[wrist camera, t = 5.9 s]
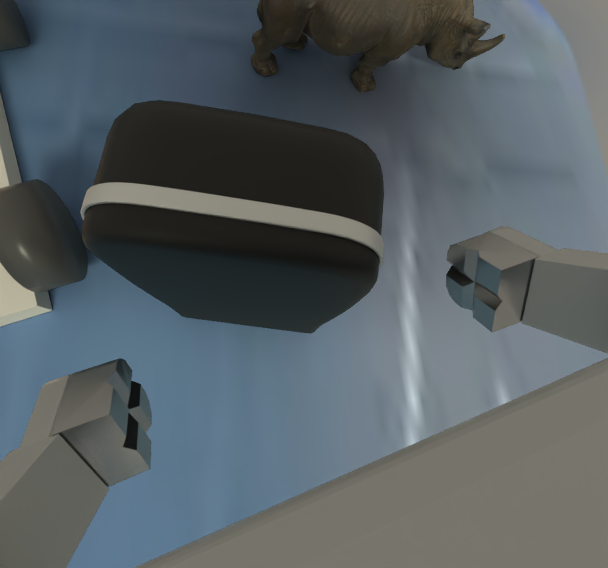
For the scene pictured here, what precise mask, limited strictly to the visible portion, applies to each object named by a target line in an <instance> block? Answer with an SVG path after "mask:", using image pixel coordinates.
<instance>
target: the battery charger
mask: <svg viewBox="0 0 608 568" xmlns="http://www.w3.org/2000/svg"><path fill="white" fill-rule="evenodd" d="M383 198H384V187H383V175H382V170H381V165H380V163H379V161H378V159H377V157H376V154H375V153H374V152H373V151H372V150H371V149H370V148H369V146H368V145H367V144H365V143H364V142H362V141H361V140H359V139H357V138H355V137H353V136H351V135H349V134H347V133H343V132H339V131H336V130H332V129H328V128H323V127H317V126H312V125H307V124H302V123H297V122H292V121H286V120H281V119H276V118H271V117H266V116H260V115H255V114H249V113H243V112H237V111H231V110H224V109H218V108H212V107H206V106H200V105H193V104H187V103H181V102H172V101H161V100H158V101H148V102H142V103H135V104H133V105H132V106H131V107H129V108H128V109H127V110H126V111H124V112H123V113H122V114H121V115H120V116H118V117H117V118H116V119H115V120H114V123H113V125H112V127H111V129H110V132H109V134H108V136H107V140H106V143H105V147H104V150H103V154H102V157H101V161H100V164H99V168H98V171H97V175H96V178H95V182H94V185H93V186H92V187H90V188H89V189H88V190H87V191H86V194H85V197H84V201H83V204H82V208H81V211H80V213H81V216H82V218H83V227H82V240H83V243H84V245H85V246H86V247H87V248H88V249H89V250H90V251H91V252H92V253H93V254H94V255H95V256H97V257H98V258H99V259H100V260H102V261H103V262H104V263H106V264H107V265H108V266H110V267H111V268H112V269H114V270H115V271H116V272H118V273H119V274H120V275H122V276H123V277H125V278H126V279H127V280H129V281H130V282H132V283H133V284H135V285H136V286H138V287H139V288H141V289H142V290H144V291H145V292H147V293H149V294H150V295H152V296H153V297H155V298H156V299H158V300H160V301H161V302H163V303H165V304H166V305H168V306H169V307H171V308H172V309H174V310H175V311H176V312H177V313H179V314H180V315H181V316H183V317H188V318H195V319H202V320H210V321H217V322H225V323H233V324H240V325H248V326H256V327H263V328H271V329H279V330H287V331H295V332H303V333H313V332H314V331H315V330H316V329H317V328H319V327H320V326H321V325H322V324H324V323H326V322H328V321H330V320H331V319H333V318H335V317H337V316H338V315H340V314H342V313H343V312H345V311H346V310H348V309H349V308H351V307H352V306H353V305H355V304H356V303H357V302H358V301H360V300H361V299H362V298H363V297H364V296H365V295H367V294H368V293H369V292H370V290H371V289H372V288H373V286H374V284H375V282H376V281H377V277H378V271H379V268H380V267H381V265H382V263H383V255H384V241H383V239H382V237H381V227H382V213H383Z"/></svg>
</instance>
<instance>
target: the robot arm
mask: <svg viewBox="0 0 608 568" xmlns="http://www.w3.org/2000/svg"><path fill="white" fill-rule="evenodd" d="M447 261H448V262H449V263H450V264H451V265H452V266H451V268H450V269H449V271H448V273H447V274H446V286H447V289H448V292H449V295H450V296H451V298H452V299H453V300H454V302H455V303H457V304H458V305H459V306H460V307H462V308H466V309H470V310H472V314H473V318H475V319H476V320H477V321H478V322H480V323H481V324H482V325H483V326H485V327H486V328H487V329H488V330H490V331H491V332H495V331H497V330H500V329H503V328H505V327H508V326H511V325H514V324H516V323H519V322H522V323H523V324H526V325H528V326H531V327H534V328H537V329H540V330H543V331H545V332H548V333H551V334H554V335H557V336H560V337H562V338H565V339H568V340H571V341H574V342H577V343H579V344H582V345H585V346H588V347H591V348H594V349H596V350H599V351H602V352H605V353H608V254H607V253H599V252H590V251H582V250H574V249H566V248H563V249H561V250H557V249H555V248H553V247H551V246H549V245H547V244H545V243H542V242H540V241H538V240H536V239H534V238H532V237H530V236H527V235H525V234H523V233H521V232H519V231H517V230H515V229H512V228H510V227H504V226H501V227H499V228H496V229H494V230H491V231H488V232H486V233H484V234H482V235H479V236H476V237H473V238H470V239H468V240H465V241H462V242H459V243H456V244H453V245H450V248H449V250H448V254H447ZM131 378H132V370H131V368H130V367H129V365H128V364H127V362H126V361H125V360H123V359H121V358H119V359H116V360H113V361H110V362H107V363H104V364H101V365H98V366H95V367H91V368H88V369H85V370H82V371H79V372H76V373H73V374H71V375H67V376H64V377H61V378H58V379H55V380H52V381H49V382H47V383H46V384H45V385H43V386H42V388H41V391H40V393H39V396H38V399H37V402H36V404H35V407H34V410H33V412H32V415H31V418H30V421H29V423H28V426H27V429H26V431H25V434H24V437H23V439H22V442H21V445H20V448H19V449H16V450H13V451H11V452H10V453H9V454H8V455H7V456H6V457H5V458H4V459H3V460H2V461H1V462H0V568H66V567H67V565H68V563H69V561H70V559H71V558H72V556H73V554H74V552H75V550H76V548H77V547H78V545H79V543H80V541H81V539H82V538H83V536H84V534H85V532H86V530H87V528H88V527H89V525H90V523H91V521H92V519H93V517H94V516H95V514H96V512H97V510H98V508H99V506H100V505H101V503H102V501H103V499H104V497H105V496H106V494H107V492H108V490H109V488H108V487H109V486H112V485H114V484H116V483H119V482H121V481H123V480H126V479H128V478H130V477H132V476H135V475H137V474H139V473H142V472H144V471H146V470H149V469H150V464H151V440H150V439H149V438H148V436H147V435H146V432H147V430H148V429H149V427H150V426H151V424H152V413H151V408H150V403H149V400H148V397H147V395H146V392H145V391H144V389H143V387H142V386H141V384H139V383H136V382H133V381H131ZM134 568H608V358H607V359H604V360H602V361H600V362H598V363H595V364H593V365H591V366H589V367H586V368H584V369H582V370H580V371H577V372H575V373H573V374H571V375H568V376H566V377H564V378H562V379H559V380H557V381H555V382H553V383H550V384H548V385H546V386H544V387H541V388H539V389H537V390H535V391H532V392H530V393H528V394H526V395H523V396H521V397H519V398H517V399H514V400H512V401H510V402H508V403H505V404H503V405H501V406H499V407H496V408H494V409H492V410H490V411H487V412H485V413H483V414H481V415H478V416H476V417H474V418H471V419H469V420H467V421H465V422H462V423H460V424H458V425H456V426H453V427H451V428H449V429H447V430H444V431H442V432H440V433H438V434H435V435H433V436H431V437H429V438H426V439H424V440H422V441H420V442H417V443H415V444H413V445H411V446H408V447H406V448H404V449H401V450H399V451H397V452H395V453H392V454H390V455H388V456H386V457H383V458H381V459H379V460H377V461H374V462H372V463H370V464H367V465H365V466H363V467H361V468H358V469H356V470H354V471H352V472H349V473H347V474H345V475H343V476H340V477H338V478H336V479H333V480H331V481H329V482H327V483H324V484H322V485H320V486H318V487H315V488H313V489H311V490H309V491H306V492H304V493H302V494H299V495H297V496H295V497H293V498H290V499H288V500H286V501H284V502H281V503H279V504H277V505H275V506H272V507H270V508H268V509H266V510H263V511H261V512H259V513H257V514H254V515H252V516H250V517H247V518H245V519H243V520H241V521H238V522H236V523H234V524H232V525H229V526H227V527H225V528H223V529H220V530H218V531H216V532H214V533H211V534H209V535H207V536H205V537H202V538H200V539H198V540H196V541H193V542H191V543H189V544H186V545H184V546H182V547H180V548H177V549H175V550H173V551H171V552H168V553H166V554H164V555H162V556H159V557H157V558H155V559H153V560H150V561H148V562H146V563H144V564H141V565H139V566H137V567H134Z"/></svg>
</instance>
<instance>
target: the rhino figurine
mask: <svg viewBox="0 0 608 568" xmlns="http://www.w3.org/2000/svg"><path fill="white" fill-rule="evenodd" d="M257 14H258V17H259V19H260V21H261V23H262V29H260V30H258V31H256V32H255V33H254V34H253V36H252V42H253V44H254V46H255V54H253V55H252V57H251V63H252V66H253V67H254V69H255V70H256V71H257V72H258V73H259V74H260V75H262V76H267V75H275V74H276V73H277V72H278V67H277V62H276V57H275V55H274V54H273V53H272V51H273V50H274V49H276V48H277V47H279V46H281V45H283V46H284V47H287V48H291V49H297V50H302V49H303V48H304V44H305V43H306V42H307V36H306V35H305V34H304V33H306V34H307V35H308V36H309V37H310V38H312V39H313V40H314V41H315V43H316V44H317V45H318V46H319V47H321V48H322V49H324V50H325V51H327V52H328V53H331V54H333V55H336V56H348V55H351V54H355V53H357V52H363V55H362V57H361V58H360V60H359V64H358V67H357V68H356V69H355V70H354V71H353V72H352V74H351V77H352V80H353V82H354V83H355V85H356V88H357V89H358V91H360V92H366V91H370V90H373V89H374V88H375V86H376V83H375V80H374V77H373V75H372V71H373V70H374V69H376V68H377V67H381V66H384V65H386V64H387V63H388V62H389V61H390V60H395V59H398V58H399V57H400V56H401V55H402V54H404V53H405V52H407V51H408V50H409V49H410V48H412V47H413V46H414V45H418V46H422V45H425V48H426V51H427V55H428V57H429V58H430V59H431V60H433V61H436V62H438V63H439V64H441V65H443V66H445V67H448V68H452V69H453V70H455V69H460V68H461V67H462V65H463V64H464V63H465V62H466V61H467V60H469V59H471V58H473V57H475V56H478V55H480V54H482V53H484V52H486V51H488V50H490V49H492V48H494V47H495V46H497V45H498V44H499V43H500V42H502V41H503V39H504V38H505V34H502V35H499V36H497V37H495V38H493V39H490V40H478V39H479V38H480V37H481V36H482V35H483V34H484V33H485V32H486V30H488V29H489V28H490V24H489V23H486V22H484V21H481V20H478V19H475V18H473V16H474V6H473V0H260V2H259V4H258V8H257ZM302 31H303V32H304V33H303V32H302Z"/></svg>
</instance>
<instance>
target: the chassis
mask: <svg viewBox="0 0 608 568" xmlns="http://www.w3.org/2000/svg"><path fill="white" fill-rule="evenodd" d="M28 45H29V36H28V32H27V29H26V26H25V23H24V21H23V18H22V16H21V13H20V11H19V9H18V6H17V4H16V2H15V0H0V51H3V50H8V49H14V48H19V47H25V46H28ZM87 268H88V266H87V256H86V251H85V247H84V244H83V241H82V238H81V235H80V233H79V230H78V228H77V226H76V224H75V222H74V220H73V218H72V216H71V214H70V212H69V211H68V209H67V207H66V206H65V204H64V203H63V201H62V200H61V199H60V197H59V196H58V195H57V194H56V192H55V191H54V190H53V189H52V188H51V187H50V186H49V185H47V184H46V183H44V182H43V181H41V180H37V179H35V180H31V181H26V182H22V181H21V177H20V172H19V168H18V164H17V160H16V156H15V152H14V147H13V143H12V139H11V135H10V131H9V127H8V122H7V118H6V114H5V110H4V106H3V102H2V97H1V93H0V327H1V326H4V325H7V324H10V323H13V322H17V321H20V320H23V319H26V318H30V317H33V316H36V315H39V314H42V313H46V312H49V311H52V306H51V302H50V298H49V293H48V290H51V289H54V288H58V287H61V286H64V285H68V284H71V283H74V282H78V281H81V280H83V279H84V278H85V277H86V274H87Z"/></svg>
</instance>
